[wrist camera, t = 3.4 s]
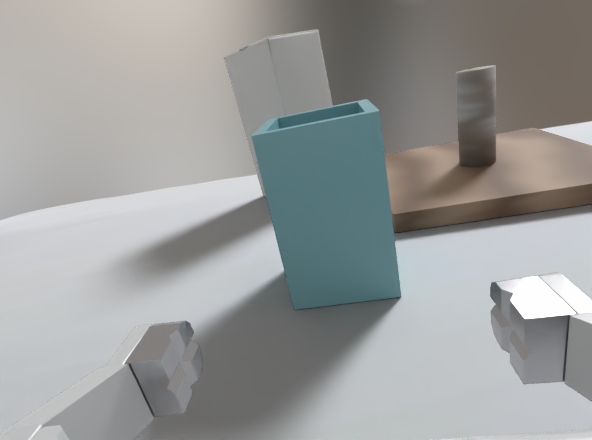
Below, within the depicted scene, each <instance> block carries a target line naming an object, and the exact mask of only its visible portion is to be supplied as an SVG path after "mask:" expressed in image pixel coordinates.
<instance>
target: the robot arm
mask: <svg viewBox="0 0 592 440" xmlns="http://www.w3.org/2000/svg"><path fill="white" fill-rule="evenodd" d="M490 297H491V298H492V300H493V301H494V303H495V304H496V305H495V306H494V307H493V309H492V310H491V324H492V328H493V332H494V335H495V337H496V340H497V342H498V344H499V345H500V347H501V349H503V350H505V351H506V352H508V353H510V363H511V365H512V367H513V368H514V370H515V371H516V373H517V375H518V376H519V378H520V379H521V381H522V383H523V384H534V383H551V382H565V384H566V385H568V386H569V387H571V388H572V389H574V390H575V391H577V392H578V393H580V394H581V395H583V396H584V397H586V398H587V399H589V400H590V401H592V300H591V299H590V298H589V297H587V296H586V295H585V294H584V293H583V292H582V291H581V290H579V289H578V288H577V287H576V286H575V285H574V284H573V283H571V282H570V281H569V280H568V279H567V278H566V277H565V276H563V275H562V274H560V273H557V272H555V273H549V274H543V275H536V276H533V277H526V278H519V279H511V280H504V281H497V282H492V283H491V287H490ZM193 334H194V331H193V329H192V327H191V324H190V323H189V322H187V321H178V322H169V323H159V324H150V325H142V326H138V327H135V328H133V330H132V331H131V332H130V334H129V335H128V336H127V338H126V339H125V340H124V342H123V343H122V344H121V346H120V347H119V348H118V350H117V351H116V352H115V354H114V355H113V356H112V358H111V359H110V360H109V362H108V363H107V364H106V366H104V367H99V368H98V369H96V370H95V371H93V372H92V373H90V374H89V375H87V376H85V377H84V378H82V379H81V380H79V381H78V382H76V383H75V384H73V385H72V386H70V387H69V388H67V389H66V390H64V391H63V392H61V393H60V394H58V395H57V396H55V397H54V398H52V399H51V400H49V401H48V402H46V403H45V404H43V405H42V406H40V407H39V408H37V409H36V410H34V411H33V412H31V413H29V414H28V415H26V416H25V417H23V418H22V419H20V420H19V421H17V422H16V423H14V424H13V425H11V426H10V427H8V428H7V429H6V430H5V431H4V432H3V433H2V435H1V436H0V440H134V439H135V438H136V437H137V436H138V435H139V434H140V433H141V432H142V431H143V430H144V429H145V428H146V427H147V426H148V425H149V424H150V423H151V421H152V420H153V419H154V417H159V416H167V415H176V414H184V412H185V410H186V408H187V405H188V403H189V400H190V398H191V396H192V393H193V392H192V390H191V387H190V386H191V385H193V384H194V383H195V382H196V381H197V380H198V379H199V376H200V374H201V371H202V361H203V360H202V353H201V350H200V347H199V345H198V344H197V343H195V342H194V341H193V340H192V336H193ZM436 440H592V429H583V430H570V431H556V432H542V433H528V434H512V435H497V436H482V437H467V438H452V439H436Z"/></svg>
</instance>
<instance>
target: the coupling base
mask: <svg viewBox="0 0 592 440" xmlns="http://www.w3.org/2000/svg"><path fill="white" fill-rule="evenodd" d="M456 89H457V90H456V91H457V114H458V115H457V116H458V140H459V141H456V142H451V143H445V144H439V145H433V146H428V147H422V148H417V149H411V150H406V151H400V152H394V153H389V154H385V162H386V170H387V179H388V188H389V196H390V205H391V213H392V222H393V228H394V231H395V233H398V232H404V231H411V230H418V229H425V228H432V227H438V226H445V225H452V224H459V223H465V222H472V221H479V220H486V219H493V218H499V217H506V216H513V215H520V214H526V213H533V212H540V211H547V210H554V209H560V208H567V207H574V206H581V205H587V204H592V146H591V145H587V144H584V143H581V142H578V141H574V140H571V139H568V138H565V137H562V136H558V135H555V134H552V133H549V132H545V131H542V130H539V129H536V128H529V129H523V130H517V131H512V132H506V133H501V134H496V66H485V67H478V68H473V69H468V70H463V71H459V72H457V73H456Z"/></svg>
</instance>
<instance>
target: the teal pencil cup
mask: <svg viewBox="0 0 592 440" xmlns="http://www.w3.org/2000/svg"><path fill="white" fill-rule="evenodd" d="M251 137H252V141H253V145H254V149H255V153H256V157H257V162H258V166H259V170H260V174H261V178H262V182H263V186H264V190H265V194H266V198H267V202H268V206H269V210H270V214H271V218H272V222H273V226H274V231H275V235H276V239H277V243H278V247H279V251H280V255H281V259H282V263H283V267H284V271H285V275H286V279H287V283H288V287H289V291H290V295H291V300H292V304H293V308H294V310H298V309H306V308H314V307H322V306H330V305H339V304H347V303H355V302H363V301H371V300H380V299H388V298H396V297H401V291H400V282H399V274H398V265H397V256H396V248H395V239H394V231H393V222H392V213H391V205H390V196H389V188H388V179H387V170H386V162H385V154H384V145H383V136H382V128H381V119H380V111H379V110H378V109H377V108H376V107H375V106H374V105H373V104H371V103H370V102H369V101H368V100H367V99H366V100H360V101H356V102H350V103H346V104H341V105H336V106H331V107H326V108H321V109H316V110H311V111H306V112H301V113H296V114H291V115H286V116H281V117H277V118H272V119H269V120H268V121H267V122H266V123H265V124H264V125H263V126H262V127H260V128H259V129H258V130H257V131H256V132H255V133H254V134H253V135H252V136H251Z"/></svg>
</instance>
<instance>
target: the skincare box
mask: <svg viewBox="0 0 592 440" xmlns="http://www.w3.org/2000/svg"><path fill="white" fill-rule="evenodd" d="M224 59H225V63H226V66H227V70H228V73H229V77H230V80H231V84H232V87H233V91H234V94H235V98H236V101H237V105H238V108H239V112H240V115H241V119H242V122H243V126H244V129H245V133H246V136H247V140H248V144H249V147H250V150H251V154H252V157H253V161H254V164H255V168H256V171H257V175H258V179H259V182H260V186H261V189H262V193H263V196H266V194H265V190H264V186H263V182H262V178H261V174H260V170H259V166H258V162H257V157H256V153H255V149H254V145H253V141H252V137H251V136H252V135H253V134H254V133H255V132H256V131H257V130H258V129H259V128H260V127H262V126H263V125H264V124H265V123H266V122H267V121H268V120H269V119H272V118H277V117H281V116H286V115H291V114H296V113H301V112H306V111H311V110H316V109H321V108H326V107H331V106H333V105H332V100H331V95H330V89H329V84H328V79H327V74H326V69H325V64H324V58H323V53H322V48H321V43H320V37H319V31H318V30H309V31H303V32H296V33H291V34H284V35H277V36H270V37H266V38H264V39H262V40H259V41H257V42H255V43H253V44H250V45H248V46H245V47H242V48H240V49H239V50H237V51H235V52H233V53H231V54H229V55H227V56H225V57H224Z"/></svg>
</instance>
